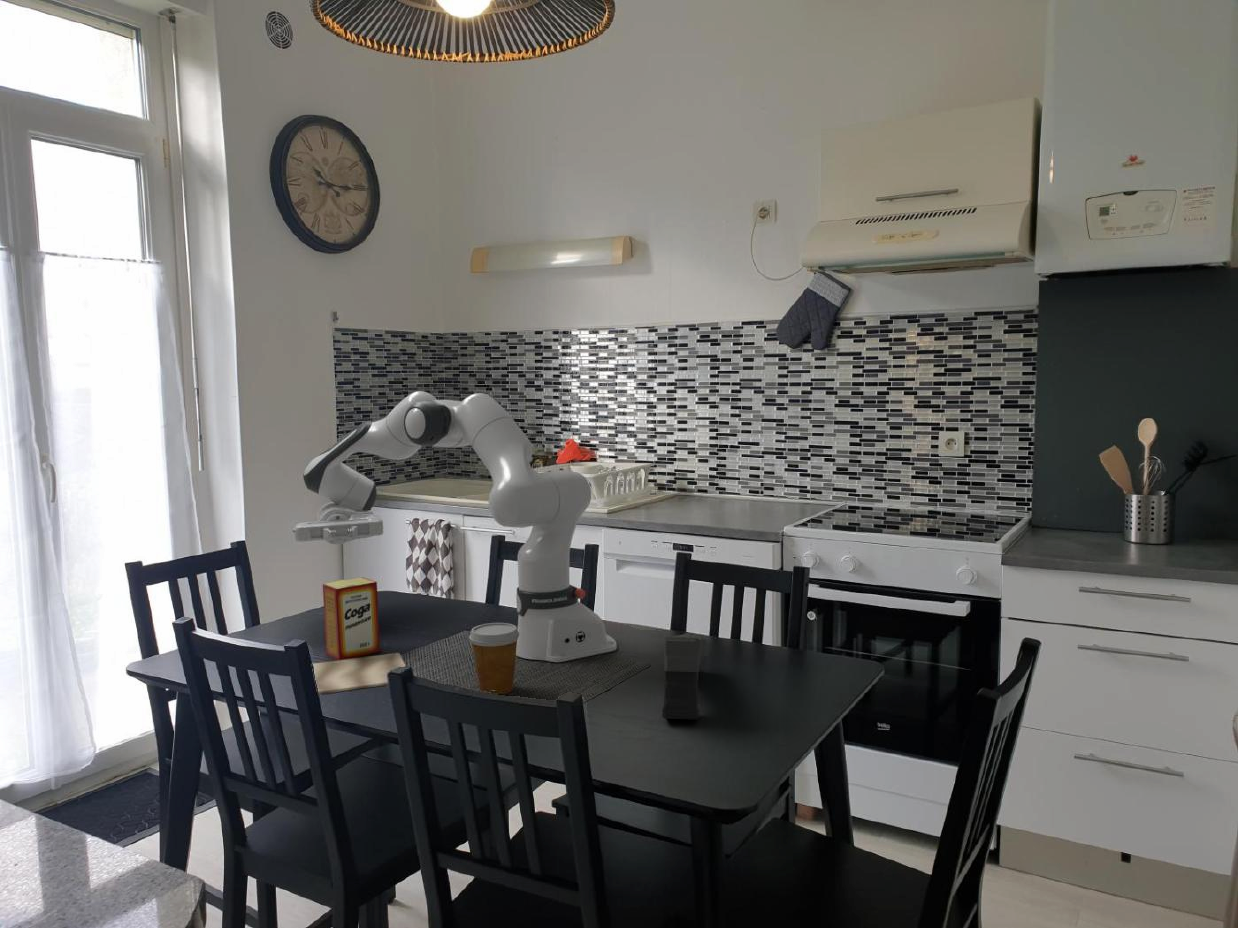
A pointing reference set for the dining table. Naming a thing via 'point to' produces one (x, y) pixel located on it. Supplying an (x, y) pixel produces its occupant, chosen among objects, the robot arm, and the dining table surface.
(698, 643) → the dark grey upright block
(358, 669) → the oak board
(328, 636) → the baking soda box
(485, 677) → the disposable coffee cup
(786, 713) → the dining table surface
